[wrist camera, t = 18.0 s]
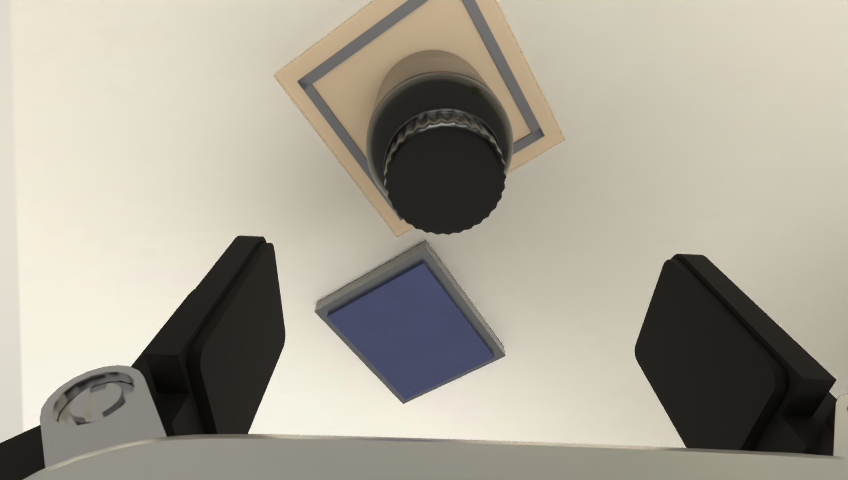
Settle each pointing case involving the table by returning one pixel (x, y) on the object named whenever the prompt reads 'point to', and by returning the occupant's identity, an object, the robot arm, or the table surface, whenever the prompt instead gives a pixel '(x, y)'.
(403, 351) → the ink pad
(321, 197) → the table surface
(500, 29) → the card
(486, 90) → the supplement bottle
